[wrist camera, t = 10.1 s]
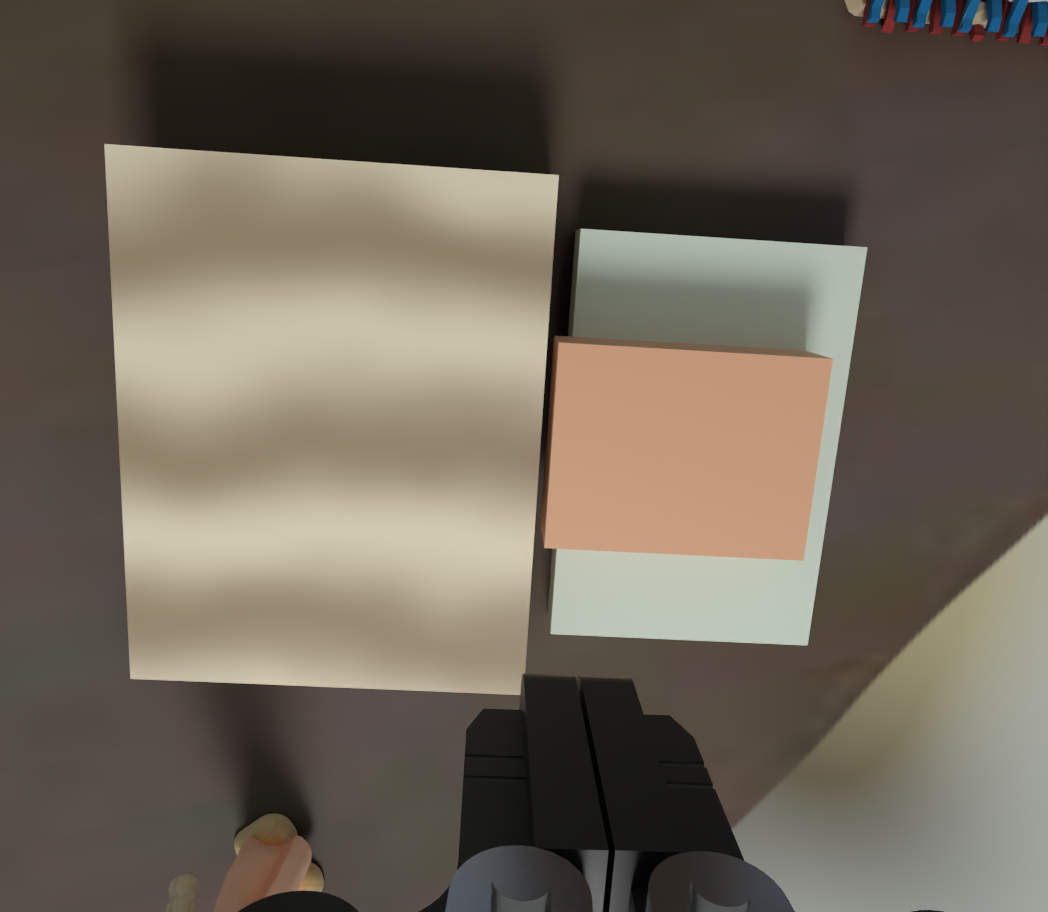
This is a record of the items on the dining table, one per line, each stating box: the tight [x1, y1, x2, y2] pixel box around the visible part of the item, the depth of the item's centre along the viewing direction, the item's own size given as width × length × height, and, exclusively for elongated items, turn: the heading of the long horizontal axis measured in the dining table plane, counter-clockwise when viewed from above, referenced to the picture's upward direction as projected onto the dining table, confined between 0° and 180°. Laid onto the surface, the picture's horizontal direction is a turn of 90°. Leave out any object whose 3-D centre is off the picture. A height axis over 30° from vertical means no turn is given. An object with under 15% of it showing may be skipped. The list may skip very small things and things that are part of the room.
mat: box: [547, 229, 867, 645], centre depth 32 cm, size 15×10×2 cm, turn 176°
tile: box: [541, 336, 833, 561], centre depth 29 cm, size 7×9×2 cm
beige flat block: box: [104, 144, 559, 695], centre depth 30 cm, size 18×14×4 cm
